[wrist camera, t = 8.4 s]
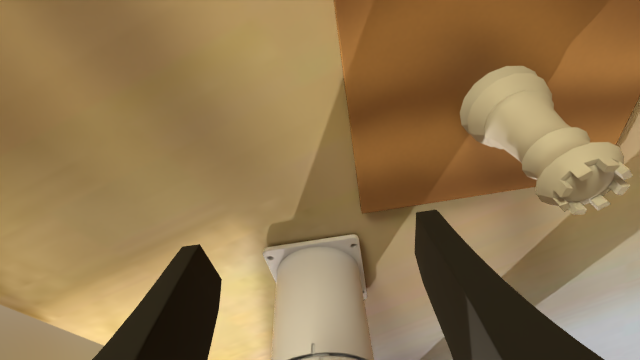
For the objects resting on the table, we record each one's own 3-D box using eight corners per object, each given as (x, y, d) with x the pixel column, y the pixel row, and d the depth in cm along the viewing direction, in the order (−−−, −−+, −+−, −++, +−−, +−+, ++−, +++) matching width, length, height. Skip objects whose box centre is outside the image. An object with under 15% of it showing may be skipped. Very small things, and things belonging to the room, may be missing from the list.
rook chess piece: (469, 146, 20) (543, 244, 14) (445, 91, 18) (522, 181, 12) (543, 109, 19) (662, 200, 13) (528, 44, 16) (665, 118, 10)
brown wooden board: (594, 171, 23) (600, 176, 22) (360, 208, 24) (362, 214, 24) (723, -102, 14) (738, -102, 13) (331, -19, 15) (332, -17, 14)
